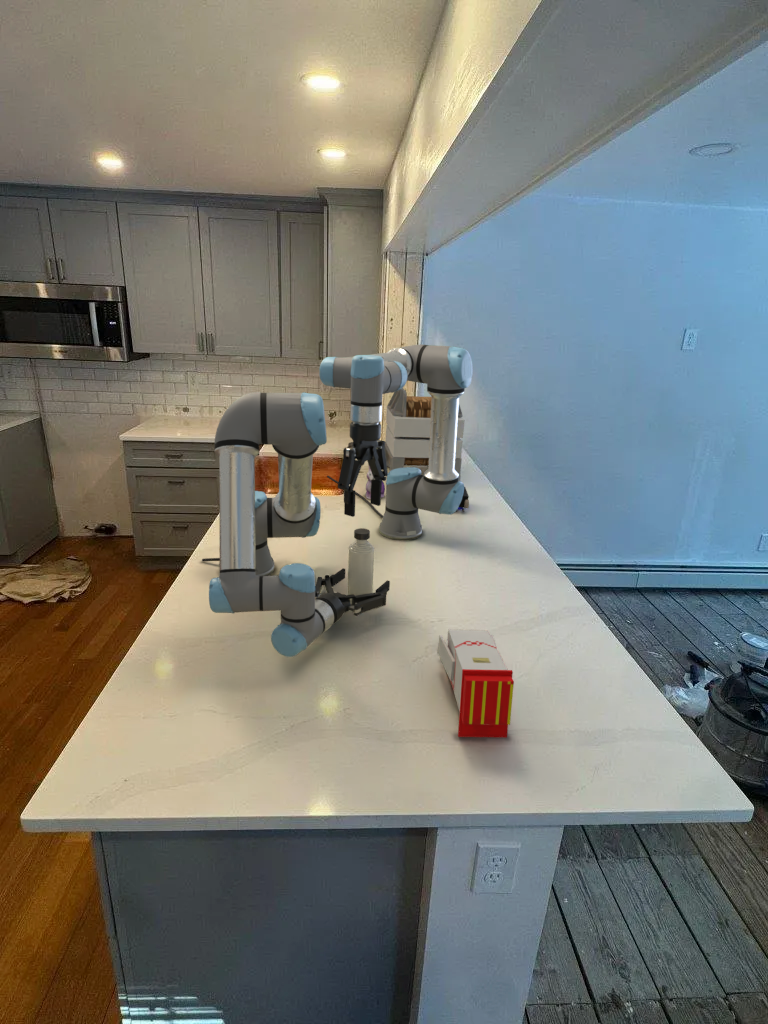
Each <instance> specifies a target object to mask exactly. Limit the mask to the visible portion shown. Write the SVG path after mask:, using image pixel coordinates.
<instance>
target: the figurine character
mask: <svg viewBox="0 0 768 1024" xmlns="http://www.w3.org/2000/svg"><path fill="white" fill-rule="evenodd" d="M469 498H470V496H469V494H468V491H467V488H466V486H464V493H463V497H462V500H461V503H460V505H459V507H458V509H457V510H456V511H455V513H458V510H461V511H462V513H465V509H469V506H470V500H469Z"/></svg>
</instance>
